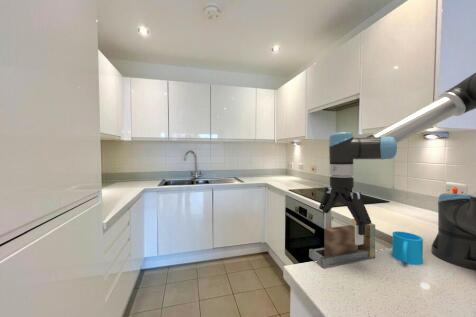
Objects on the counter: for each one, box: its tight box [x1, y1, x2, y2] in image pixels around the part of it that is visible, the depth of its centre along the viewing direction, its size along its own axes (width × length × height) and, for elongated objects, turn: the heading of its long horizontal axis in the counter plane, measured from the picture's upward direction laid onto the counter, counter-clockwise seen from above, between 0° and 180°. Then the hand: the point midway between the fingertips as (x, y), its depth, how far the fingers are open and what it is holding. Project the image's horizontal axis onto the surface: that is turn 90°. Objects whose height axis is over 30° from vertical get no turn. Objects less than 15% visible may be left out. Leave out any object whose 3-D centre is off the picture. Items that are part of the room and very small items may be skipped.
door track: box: [308, 218, 376, 269], centre depth 70 cm, size 22×7×12 cm, turn 107°
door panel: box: [323, 224, 358, 257], centre depth 70 cm, size 12×3×10 cm, turn 107°
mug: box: [391, 231, 424, 266], centre depth 68 cm, size 12×8×8 cm
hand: (342, 236), depth 69 cm, fingers open, 13 cm apart
